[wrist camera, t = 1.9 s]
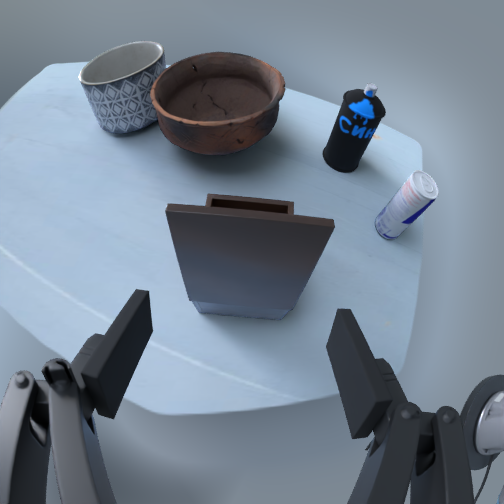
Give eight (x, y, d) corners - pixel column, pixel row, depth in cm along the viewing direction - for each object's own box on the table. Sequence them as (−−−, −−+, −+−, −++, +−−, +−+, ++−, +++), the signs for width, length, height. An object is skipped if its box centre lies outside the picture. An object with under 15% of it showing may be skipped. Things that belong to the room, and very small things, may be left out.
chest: (211, 222, 49) (207, 193, 41) (284, 229, 49) (293, 201, 41) (198, 312, 43) (190, 298, 34) (280, 319, 43) (291, 308, 35)
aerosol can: (325, 140, 59) (351, 68, 40) (359, 152, 58) (392, 84, 40) (319, 164, 56) (348, 88, 37) (356, 178, 55) (395, 107, 37)
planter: (121, 152, 54) (98, 94, 39) (88, 120, 59) (68, 72, 44) (187, 108, 61) (181, 51, 45) (146, 84, 65) (137, 36, 50)
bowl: (139, 141, 56) (123, 88, 42) (218, 91, 64) (218, 42, 50) (218, 203, 50) (214, 144, 36) (298, 136, 59) (312, 82, 45)
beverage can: (391, 246, 49) (434, 205, 36) (369, 227, 51) (407, 181, 37) (402, 228, 51) (443, 186, 37) (381, 210, 52) (417, 163, 39)
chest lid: (167, 203, 21) (164, 210, 20) (334, 219, 21) (335, 227, 20) (190, 294, 34) (189, 300, 34) (292, 304, 35) (292, 310, 34)
